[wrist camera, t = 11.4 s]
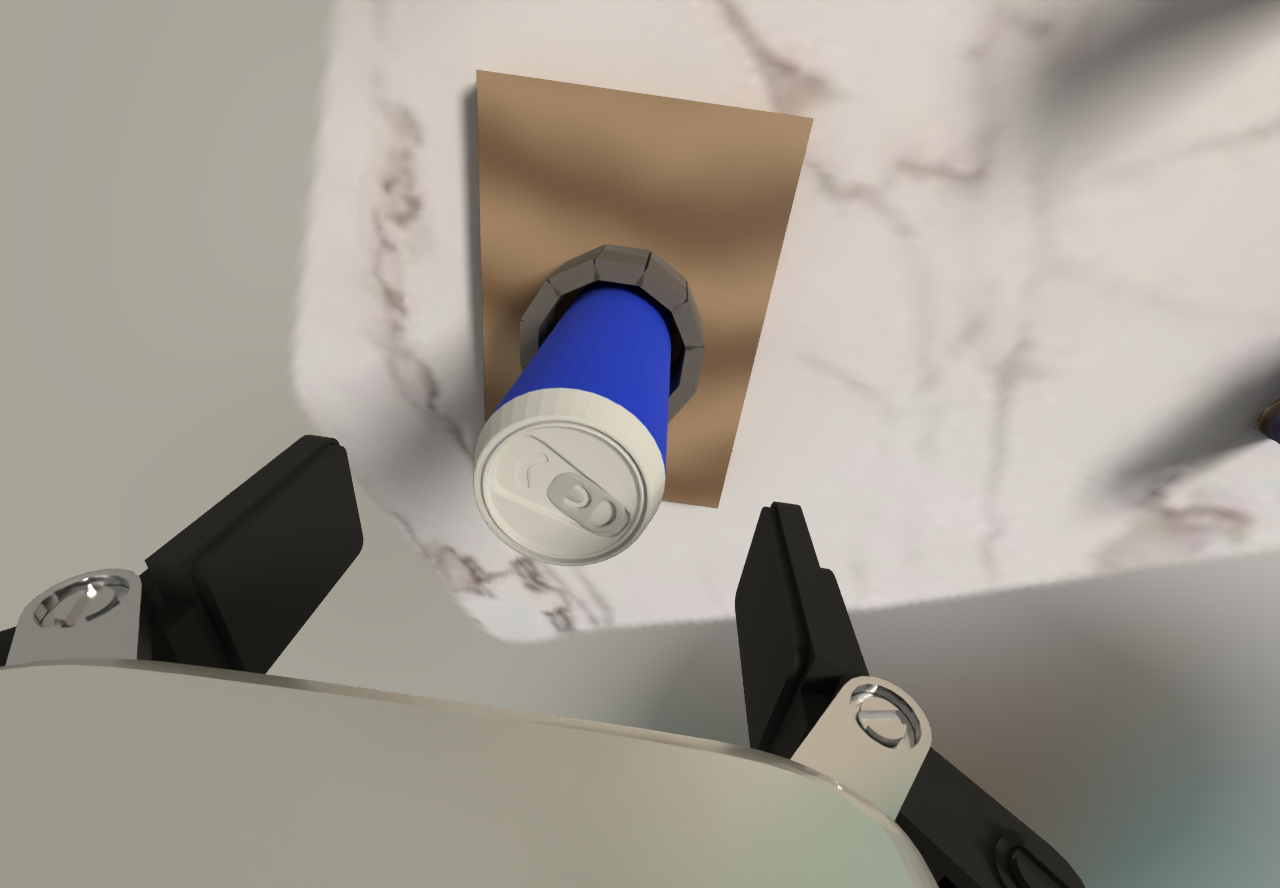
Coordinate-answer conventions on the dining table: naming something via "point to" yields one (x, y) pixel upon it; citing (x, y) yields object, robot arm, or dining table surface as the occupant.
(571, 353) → the beverage can
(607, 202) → the cup holder
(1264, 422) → the flask
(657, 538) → the dining table surface
